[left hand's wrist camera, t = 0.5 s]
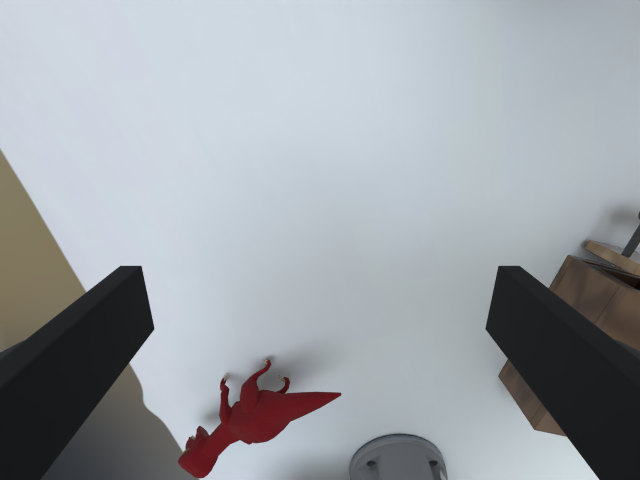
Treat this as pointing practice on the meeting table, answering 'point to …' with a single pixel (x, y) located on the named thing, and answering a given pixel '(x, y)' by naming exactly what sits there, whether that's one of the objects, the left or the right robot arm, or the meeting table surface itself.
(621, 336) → the wooden crate block
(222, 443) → the toy
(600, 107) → the meeting table surface
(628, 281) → the drawer
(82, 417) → the left robot arm
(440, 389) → the meeting table surface
